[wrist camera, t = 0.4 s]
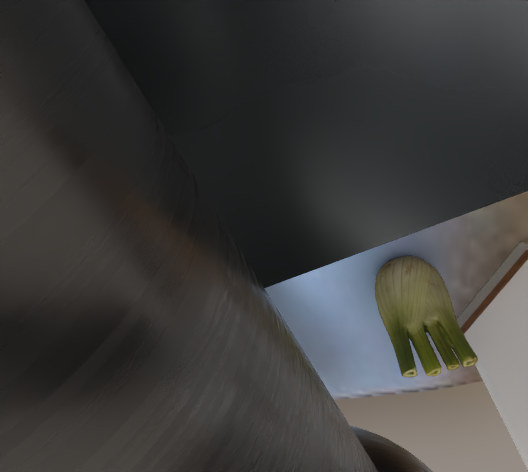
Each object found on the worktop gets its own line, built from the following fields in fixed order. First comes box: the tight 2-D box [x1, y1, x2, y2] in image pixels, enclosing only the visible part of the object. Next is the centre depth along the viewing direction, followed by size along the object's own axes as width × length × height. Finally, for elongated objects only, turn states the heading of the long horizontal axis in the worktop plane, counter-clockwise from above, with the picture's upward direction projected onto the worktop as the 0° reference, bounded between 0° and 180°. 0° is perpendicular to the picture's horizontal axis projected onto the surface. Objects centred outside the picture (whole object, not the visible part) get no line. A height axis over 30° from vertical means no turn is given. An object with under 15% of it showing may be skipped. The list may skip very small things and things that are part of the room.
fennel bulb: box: [375, 256, 478, 377], centre depth 43 cm, size 6×5×12 cm
